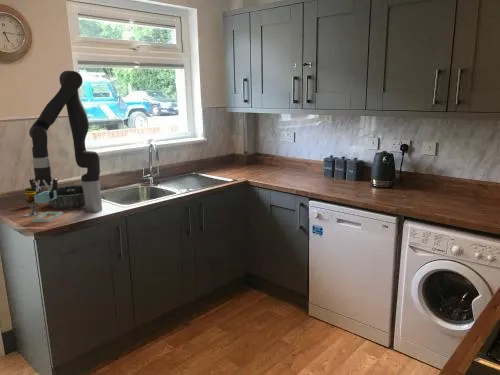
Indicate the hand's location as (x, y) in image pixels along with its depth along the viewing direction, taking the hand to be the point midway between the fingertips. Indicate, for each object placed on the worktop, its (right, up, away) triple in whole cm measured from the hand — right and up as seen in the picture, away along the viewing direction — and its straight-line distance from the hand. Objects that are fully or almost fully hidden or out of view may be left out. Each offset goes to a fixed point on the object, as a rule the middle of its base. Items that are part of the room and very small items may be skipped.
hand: (45, 198), depth 212 cm
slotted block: (0, -1, 0) cm, 1 cm away
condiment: (-20, -6, +27) cm, 34 cm away
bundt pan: (+1, -6, +29) cm, 30 cm away
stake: (-12, -10, +11) cm, 18 cm away
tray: (0, -11, +3) cm, 11 cm away
